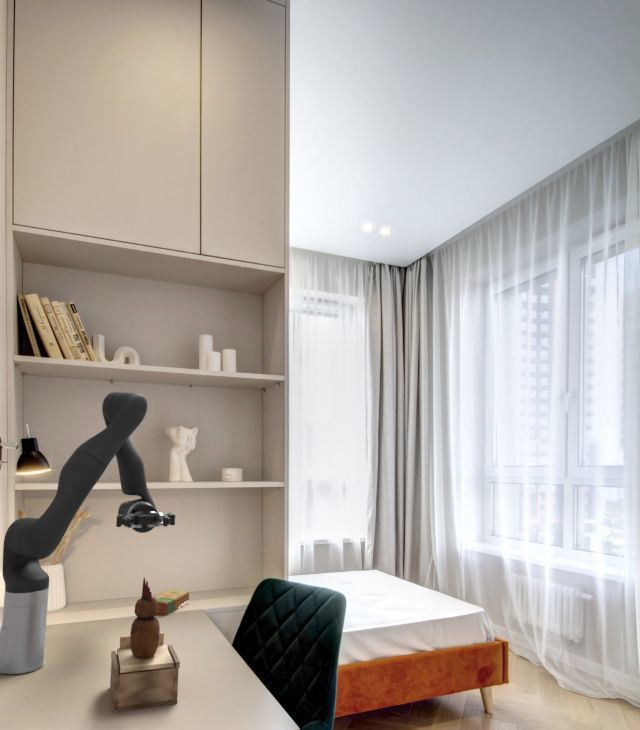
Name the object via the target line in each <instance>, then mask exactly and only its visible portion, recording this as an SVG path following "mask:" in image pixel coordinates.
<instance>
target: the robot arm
mask: <svg viewBox="0 0 640 730" xmlns="http://www.w3.org/2000/svg"><path fill="white" fill-rule="evenodd" d="M101 410H102V416H103V419H104V423H105V428H104V429H103V430H101V431H100V432H99V433H97V434H95V435H93V436H92V437H90V438H89V439H87V440H86V441H84V442H82V443H81V444H80V445H79V446H78V447H77V448H76V449H75V450H74V451H73V453H72V454H71V456H70V457H69V458H68V459H67V460H66V462H65V463H64V465H63V466H62V468H61V471H60V473H59V477H58V482H57V490H56V494H55V496H54V498H53V500H52V501H51V503H50V504H49V506H48V507H47V508H46V510H45V511H44V513H42V515H41V516H39V518H36V517H21V518H18V519H16V520H13V522H12V523H11V524H10V525H9V526H8V527H7V529H6V532H5V535H4V539H3V547H2V548H3V549H2V551H3V552H2V572H1V574H2V578H3V581H4V585H5V587H4V599H3V608H2V609H3V610H2V621H1V627H0V675H1V674H4V675H19V674H21V675H22V674H26V673H30V672H33V671H36V670H39V669H40V668H42V667H43V666H44V658H45V641H46V631H47V630H46V628H47V617H48V604H49V603H48V601H49V590H50V589H49V588H50V575H49V574H48V573H47V572H46V571H45V570H44V569H43V567H42V566H41V564H40V561H41V560H44V559H47V558H48V557H50V556H51V555H52V554H53V553H54V552H55V551H56V549H57V548H58V547H59V545H60V543H61V541H62V540H63V538H64V536H65V534H66V533H67V531H68V529H69V526H70V525H71V523H72V521H73V519H74V517H75V516H76V515H77V512H78V511H79V509H80V508H81V506H82V505H83V503H84V501H85V500H86V499H87V497H88V496H89V494H90V492H91V491H92V490H93V488H94V487H95V486H96V484H97V483H98V482H99V480H100V478H101V477H102V475H103V474H104V473H105V471H106V469H107V467H108V466H109V465H110V463H111V462H112V460H113V459H114V457H115V458H116V462H117V468H118V473H119V482H120V486H121V487H120V488H121V493H122V494H123V495H125V496H138V497H140V498H136V499H132V500H128V501H127V500H126V501H124V502H121V504H120V505H119V507H118V512H117V515H116V523H115V524H116V528H121V527H122V526H123V527H125V528H128V529H132V530H133V531H134V532H137V533H141V534H143V533H144V534H146V533H149V532H150V531H153V529H155V528H158V527H159V528H160V527H161V528H162V527H167V528H168V526H175V525H176V514H174V513H171V512H168V513H166V514H163V512H158V509H157V507H156V504H155V502H154V500H153V498H152V495H151V494H150V492H149V489H148V486H147V480H146V471H145V465H144V461H143V459H142V457H141V455H140V453H139V452H138V450H137V449H136V447H135V445H134V444H133V442H132V441H131V438H130V436H131V435H132V434H133V433H134V432H135V430H137V428H138V427H139V426H140V425H141V423H142V422H143V420H144V418H145V417H146V415H147V412H148V401H147V399H146V397H145V396H144V395H143V394H141V393H136V392H127V391H125V392H124V391H123V392H120V391H116V392H115V391H113V392H110V393H108V394H107V395H106V396H105V398H104V399H103V402H102V407H101Z"/></svg>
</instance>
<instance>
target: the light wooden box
mask: <svg viewBox="0 0 640 730" xmlns="http://www.w3.org/2000/svg"><path fill="white" fill-rule="evenodd" d="M167 648H168V651H169V653H170V655H171V657H172V660H173V662H174V667H168V668H159V669H151V670H142V671H134V672H125V673H120V668H119V662H118V656H117V650H112V651H111V652H110V653H111V654H110V656H111V657H110V658H111V660H110V661H111V664H110V666H111V667H110V679H109V681H110V682H109V683H110V684H109V692H110V691H111V693H110V700H112V702H111V710H112V709H113V710H112V713H116V712H115V711H117V712H123V711H130V709H132V710H138V709H137V708H139V709H144V708H145V709H146V708H152V707H158V706H165V705H166V706H167V705H174V704H178V693H179V669H180V666H181V665H180V664H181V661H180V659H179V657H178V654H177V653H176V651H175V650H176V649H174V646H173V645H172V644H169V645H167ZM135 708H136V709H135ZM122 710H123V711H122Z"/></svg>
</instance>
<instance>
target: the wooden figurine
mask: <svg viewBox="0 0 640 730" xmlns="http://www.w3.org/2000/svg"><path fill="white" fill-rule="evenodd" d="M141 591H142V592H141V598H139V599H137V600H136V603H135V606H134V614H135V616H136V618H134V620H133V622H132V623H131V627H130V634H129V635H130V644H131V650H132V654H133V655H134V656H135V657H137V658H148V657H151V656H153V655H154V654H155V653H156V650H157V647H158V643H159V635H160V632H161V631H160V627H161V626H160V621H159V620H158V618H157V617H156V613H157V611H158V602H157V600H156V599H155V598H152V597H153V595H152V591H151V588H150V586H149V582H148V581H147V580H146V578H145V577H143V581H142V590H141Z"/></svg>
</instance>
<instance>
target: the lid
mask: <svg viewBox="0 0 640 730" xmlns="http://www.w3.org/2000/svg"><path fill="white" fill-rule="evenodd" d="M164 637H165V632H164V631H160V635H159V643H158V647H157V650H156V653H155V654H154V655H153V656H151V657H148V658H137V657H135V656H134V655H133V654H132V650H131V644H130V634H129V635H121V636H120V637H119V647H118V648H117V649H116V654H117V656H118V662H119V668H120V673H125V672H134V671H142V670H151V669H159V668H168V667H174V662H173V660H172V657H171V655H170V653H169V651H168V645H167V644H166V643H165V642H164V641H165V640H164V639H165V638H164Z"/></svg>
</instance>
